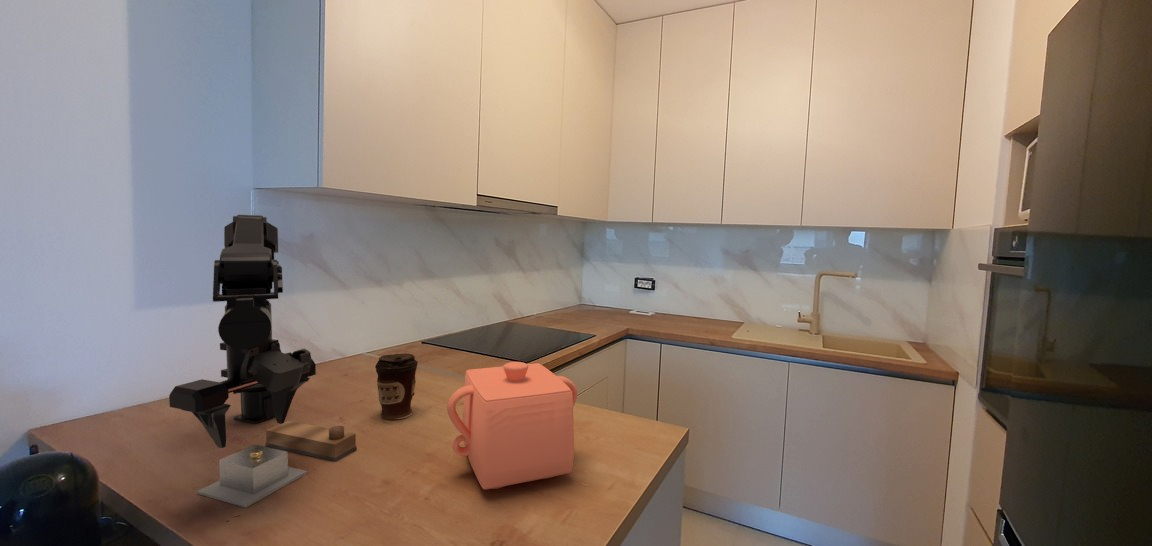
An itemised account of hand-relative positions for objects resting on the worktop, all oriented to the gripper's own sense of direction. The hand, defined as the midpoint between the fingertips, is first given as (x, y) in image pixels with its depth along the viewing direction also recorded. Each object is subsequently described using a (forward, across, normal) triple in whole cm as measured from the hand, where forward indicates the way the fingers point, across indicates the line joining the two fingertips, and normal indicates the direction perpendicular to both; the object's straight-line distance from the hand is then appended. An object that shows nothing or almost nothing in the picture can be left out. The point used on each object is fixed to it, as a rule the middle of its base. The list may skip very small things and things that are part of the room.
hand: (252, 434), depth 70 cm
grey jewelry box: (+8, 0, 0) cm, 8 cm away
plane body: (+8, +12, +2) cm, 15 cm away
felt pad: (+8, 0, 0) cm, 8 cm away
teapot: (+8, +22, -33) cm, 40 cm away
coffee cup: (+8, +30, -2) cm, 31 cm away
